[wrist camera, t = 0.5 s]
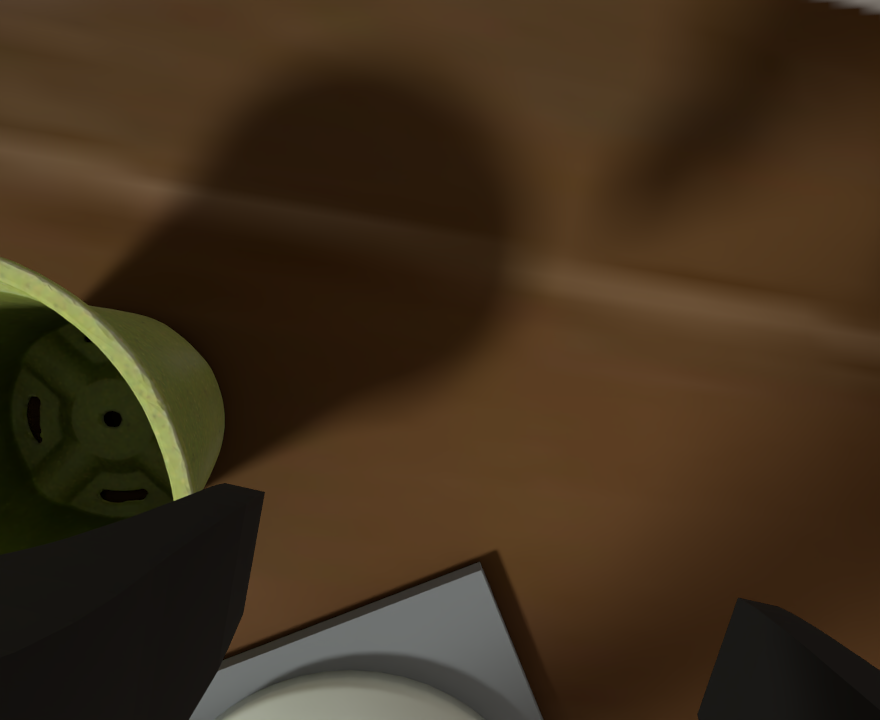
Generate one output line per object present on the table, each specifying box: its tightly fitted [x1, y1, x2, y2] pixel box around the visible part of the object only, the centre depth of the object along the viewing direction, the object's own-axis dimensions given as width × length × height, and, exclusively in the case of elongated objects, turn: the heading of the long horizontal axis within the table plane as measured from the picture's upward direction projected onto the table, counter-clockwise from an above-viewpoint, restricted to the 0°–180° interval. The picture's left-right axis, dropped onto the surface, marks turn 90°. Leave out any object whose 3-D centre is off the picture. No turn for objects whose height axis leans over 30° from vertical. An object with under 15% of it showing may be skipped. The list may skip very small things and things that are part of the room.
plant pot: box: [0, 257, 225, 555], centre depth 17 cm, size 9×9×9 cm
